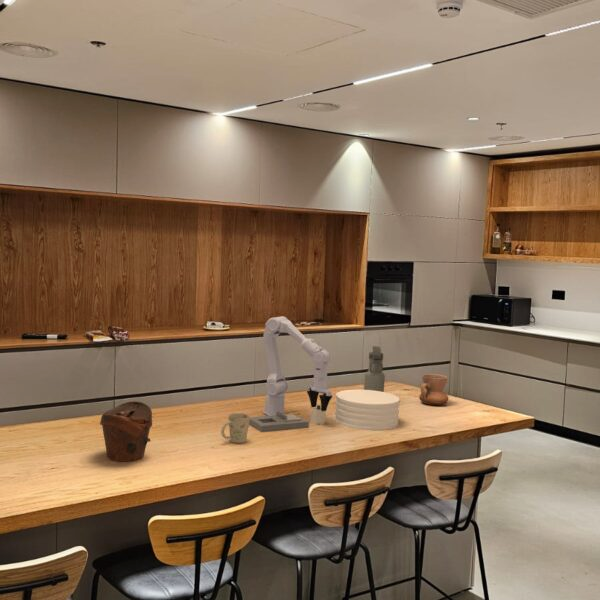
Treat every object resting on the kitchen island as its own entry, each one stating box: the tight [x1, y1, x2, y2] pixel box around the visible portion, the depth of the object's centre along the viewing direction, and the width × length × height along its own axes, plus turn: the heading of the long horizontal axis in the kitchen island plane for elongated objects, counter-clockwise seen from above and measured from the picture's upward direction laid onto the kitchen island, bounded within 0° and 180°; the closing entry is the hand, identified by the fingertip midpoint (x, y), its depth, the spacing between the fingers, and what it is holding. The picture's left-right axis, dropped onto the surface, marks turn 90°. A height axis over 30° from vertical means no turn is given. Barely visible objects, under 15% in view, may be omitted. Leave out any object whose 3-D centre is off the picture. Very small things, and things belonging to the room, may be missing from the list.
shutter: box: [276, 412, 302, 422], centre depth 300 cm, size 8×8×2 cm
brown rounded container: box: [99, 400, 153, 462], centre depth 246 cm, size 18×20×18 cm
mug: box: [220, 412, 251, 444], centre depth 271 cm, size 8×13×10 cm, turn 137°
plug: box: [310, 404, 327, 425], centre depth 306 cm, size 4×5×8 cm
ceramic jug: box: [418, 373, 449, 406], centre depth 354 cm, size 18×14×14 cm
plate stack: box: [334, 389, 401, 431], centre depth 312 cm, size 28×28×12 cm
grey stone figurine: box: [363, 345, 386, 392], centre depth 347 cm, size 10×10×28 cm
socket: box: [249, 413, 310, 433], centre depth 298 cm, size 14×22×2 cm, turn 119°
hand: (318, 408), depth 306 cm, fingers open, 7 cm apart
